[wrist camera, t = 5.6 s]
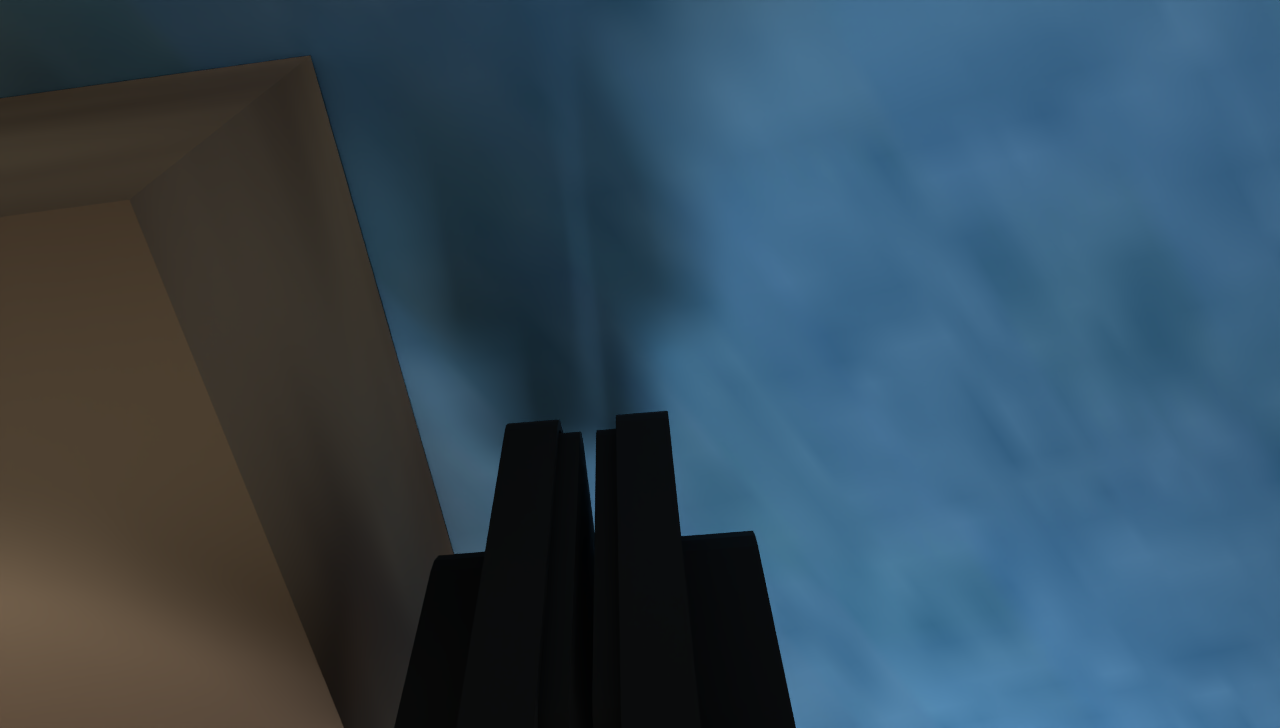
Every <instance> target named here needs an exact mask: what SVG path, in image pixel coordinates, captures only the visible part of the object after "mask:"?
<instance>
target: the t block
mask: <svg viewBox="0 0 1280 728" xmlns="http://www.w3.org/2000/svg"><path fill="white" fill-rule="evenodd" d="M451 554H453V550H452V547H451V543H450V540H449V536H448V533H447V529H446V526H445V522H444V519H443V515H442V512H441V508H440V505H439V501H438V498H437V495H436V491H435V488H434V484H433V481H432V477H431V474H430V470H429V467H428V463H427V460H426V456H425V453H424V449H423V446H422V442H421V439H420V435H419V432H418V428H417V425H416V421H415V418H414V415H413V411H412V408H411V404H410V401H409V397H408V394H407V390H406V387H405V383H404V380H403V376H402V373H401V369H400V366H399V362H398V359H397V355H396V352H395V348H394V345H393V341H392V338H391V335H390V331H389V328H388V324H387V321H386V317H385V314H384V310H383V307H382V303H381V300H380V296H379V293H378V289H377V286H376V282H375V279H374V275H373V272H372V268H371V265H370V261H369V258H368V254H367V251H366V248H365V244H364V241H363V237H362V234H361V230H360V227H359V223H358V220H357V216H356V213H355V209H354V206H353V202H352V199H351V195H350V192H349V188H348V185H347V181H346V178H345V174H344V171H343V168H342V164H341V161H340V157H339V154H338V150H337V147H336V143H335V140H334V136H333V133H332V129H331V126H330V122H329V119H328V115H327V112H326V108H325V105H324V101H323V98H322V94H321V91H320V88H319V84H318V81H317V77H316V74H315V70H314V67H313V63H312V60H311V56H310V55H309V56H302V57H295V58H288V59H280V60H273V61H266V62H259V63H252V64H244V65H237V66H230V67H223V68H216V69H208V70H201V71H194V72H187V73H180V74H172V75H165V76H158V77H151V78H143V79H136V80H129V81H122V82H115V83H107V84H100V85H93V86H86V87H79V88H71V89H64V90H57V91H50V92H43V93H35V94H28V95H21V96H14V97H7V98H0V728H394V726H395V722H396V717H397V713H398V709H399V704H400V700H401V696H402V691H403V687H404V683H405V679H406V674H407V670H408V666H409V661H410V657H411V653H412V648H413V644H414V640H415V635H416V631H417V627H418V623H419V618H420V614H421V610H422V605H423V601H424V597H425V592H426V588H427V584H428V580H429V575H430V571H431V568H432V565H433V562H434V560H435V559H436V558H437V557H438V555H451Z"/></svg>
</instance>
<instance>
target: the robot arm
mask: <svg viewBox="0 0 1280 728" xmlns="http://www.w3.org/2000/svg"><path fill="white" fill-rule="evenodd" d="M394 728H796V726H795V721H794V717H793V712H792V707H791V702H790V698H789V693H788V688H787V683H786V678H785V674H784V669H783V664H782V659H781V654H780V650H779V645H778V640H777V635H776V631H775V626H774V621H773V616H772V611H771V607H770V602H769V597H768V592H767V587H766V583H765V578H764V573H763V568H762V564H761V559H760V554H759V549H758V545H757V541H756V537H755V534H754V532H753V531H743V532H730V533H718V534H705V535H692V536H681V532H680V522H679V513H678V503H677V494H676V484H675V474H674V465H673V455H672V446H671V436H670V427H669V417H668V411H659V412H647V413H634V414H622V415H616V429H608V430H597V431H596V482H595V532H594V524H593V516H592V508H591V500H590V492H589V484H588V476H587V468H586V460H585V452H584V444H583V438H582V433H581V432H570V433H563V430H562V425H561V422H560V420H547V421H534V422H522V423H509V424H507V425H506V428H505V433H504V439H503V445H502V452H501V458H500V464H499V470H498V476H497V482H496V488H495V494H494V500H493V506H492V512H491V518H490V525H489V531H488V537H487V543H486V549H485V552H476V553H463V554H451V555H438V557H437V558H436V559H435V560H434V562H433V565H432V568H431V571H430V575H429V580H428V584H427V588H426V592H425V597H424V601H423V605H422V610H421V614H420V618H419V623H418V627H417V631H416V635H415V640H414V644H413V648H412V653H411V657H410V661H409V666H408V670H407V674H406V679H405V683H404V687H403V691H402V696H401V700H400V704H399V709H398V713H397V717H396V722H395V726H394Z"/></svg>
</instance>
